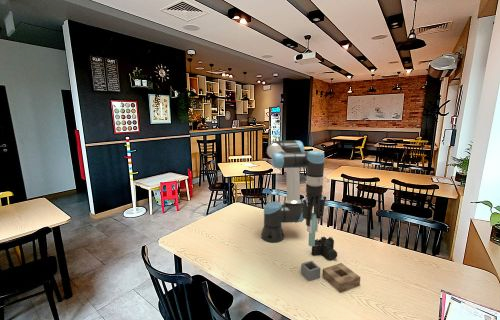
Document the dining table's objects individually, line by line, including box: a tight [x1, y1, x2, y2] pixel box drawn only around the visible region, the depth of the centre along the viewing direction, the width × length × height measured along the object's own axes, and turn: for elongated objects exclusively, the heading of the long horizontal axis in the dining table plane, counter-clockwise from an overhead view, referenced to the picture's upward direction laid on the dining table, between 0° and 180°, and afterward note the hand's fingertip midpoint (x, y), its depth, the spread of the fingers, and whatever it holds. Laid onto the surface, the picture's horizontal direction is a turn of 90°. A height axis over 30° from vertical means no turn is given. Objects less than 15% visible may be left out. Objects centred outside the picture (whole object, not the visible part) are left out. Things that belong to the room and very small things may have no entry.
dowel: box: [308, 212, 316, 248], centre depth 113 cm, size 3×3×16 cm
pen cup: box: [300, 260, 321, 282], centre depth 117 cm, size 7×7×6 cm
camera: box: [311, 236, 338, 261], centre depth 133 cm, size 14×11×10 cm
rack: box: [321, 262, 361, 294], centre depth 113 cm, size 12×12×5 cm
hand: (312, 231), depth 113 cm, fingers closed on dowel, 3 cm apart
